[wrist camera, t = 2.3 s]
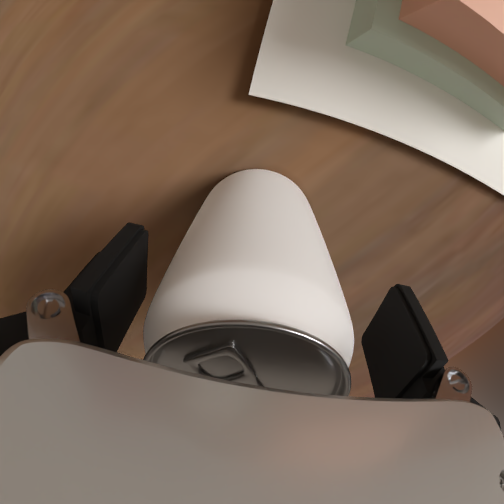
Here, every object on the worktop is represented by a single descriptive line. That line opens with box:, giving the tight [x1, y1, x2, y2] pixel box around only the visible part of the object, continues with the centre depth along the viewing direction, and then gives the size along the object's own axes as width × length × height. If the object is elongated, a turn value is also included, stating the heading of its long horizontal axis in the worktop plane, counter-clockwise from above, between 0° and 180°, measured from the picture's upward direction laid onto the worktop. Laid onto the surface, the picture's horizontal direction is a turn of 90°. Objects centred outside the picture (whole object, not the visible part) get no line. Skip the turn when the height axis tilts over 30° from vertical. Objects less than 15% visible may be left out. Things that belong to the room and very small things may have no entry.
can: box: [143, 169, 354, 396], centre depth 12 cm, size 6×6×12 cm
